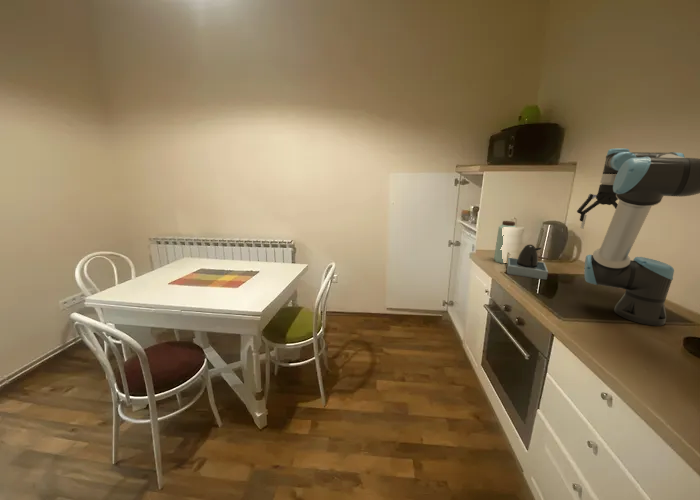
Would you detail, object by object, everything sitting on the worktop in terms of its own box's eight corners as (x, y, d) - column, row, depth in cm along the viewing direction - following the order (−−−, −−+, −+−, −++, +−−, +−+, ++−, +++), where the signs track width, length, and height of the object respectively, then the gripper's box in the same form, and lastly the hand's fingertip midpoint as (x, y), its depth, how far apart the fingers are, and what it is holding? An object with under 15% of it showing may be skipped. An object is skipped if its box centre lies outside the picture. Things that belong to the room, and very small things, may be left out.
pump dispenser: (535, 275, 168) (540, 248, 164) (514, 271, 174) (518, 244, 170) (537, 270, 176) (542, 244, 172) (517, 266, 182) (521, 241, 178)
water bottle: (493, 262, 191) (499, 222, 184) (494, 258, 199) (500, 219, 193) (511, 265, 186) (518, 223, 180) (511, 260, 195) (518, 221, 188)
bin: (546, 279, 163) (548, 271, 162) (507, 273, 171) (508, 265, 170) (543, 269, 179) (544, 262, 178) (507, 264, 187) (508, 257, 186)
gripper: (642, 185, 140) (630, 231, 146) (576, 182, 151) (566, 225, 156) (649, 186, 134) (635, 234, 139) (579, 183, 144) (569, 228, 150)
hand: (599, 229), depth 148 cm, fingers open, 13 cm apart
